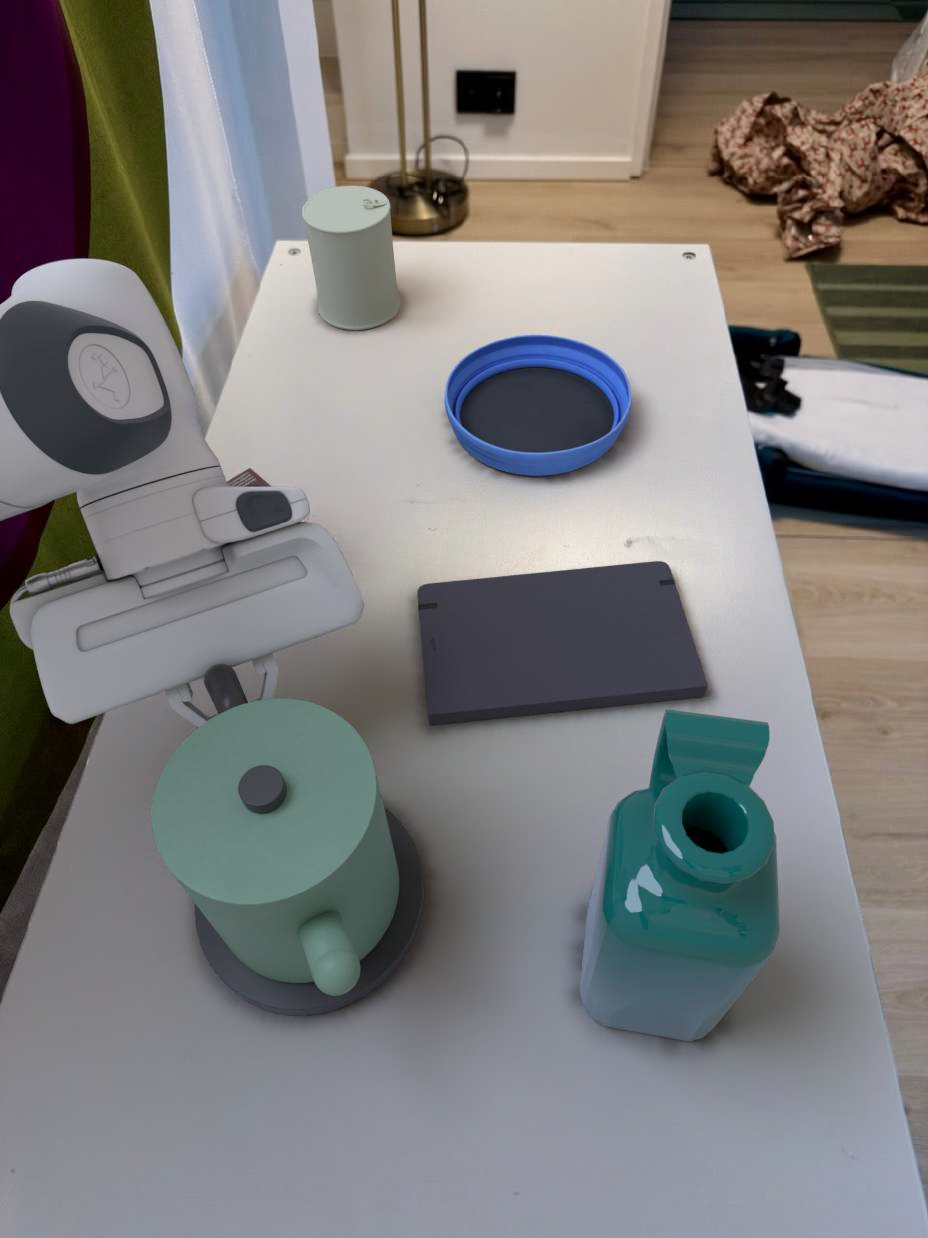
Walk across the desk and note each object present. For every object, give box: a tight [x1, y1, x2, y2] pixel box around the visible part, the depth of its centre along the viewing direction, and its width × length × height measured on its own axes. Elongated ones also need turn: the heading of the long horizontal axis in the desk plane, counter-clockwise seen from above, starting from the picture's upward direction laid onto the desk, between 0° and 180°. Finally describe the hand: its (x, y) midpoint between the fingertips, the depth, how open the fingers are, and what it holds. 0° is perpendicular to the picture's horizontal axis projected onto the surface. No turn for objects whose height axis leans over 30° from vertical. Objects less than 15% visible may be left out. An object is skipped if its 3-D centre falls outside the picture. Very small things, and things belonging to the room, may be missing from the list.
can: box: [301, 185, 401, 331], centre depth 97 cm, size 9×9×12 cm
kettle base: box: [194, 806, 425, 1017], centre depth 60 cm, size 15×15×2 cm
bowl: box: [444, 334, 632, 477], centre depth 88 cm, size 18×18×4 cm
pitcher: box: [579, 708, 781, 1042], centre depth 49 cm, size 10×8×22 cm
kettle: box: [150, 664, 399, 996], centre depth 53 cm, size 22×12×15 cm, turn 26°
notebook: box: [417, 560, 708, 726], centre depth 72 cm, size 13×2×21 cm
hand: (244, 734), depth 59 cm, fingers closed on kettle, 2 cm apart
